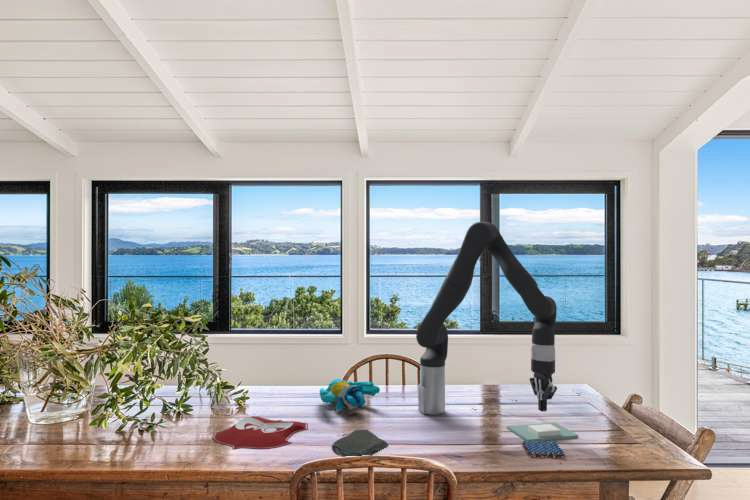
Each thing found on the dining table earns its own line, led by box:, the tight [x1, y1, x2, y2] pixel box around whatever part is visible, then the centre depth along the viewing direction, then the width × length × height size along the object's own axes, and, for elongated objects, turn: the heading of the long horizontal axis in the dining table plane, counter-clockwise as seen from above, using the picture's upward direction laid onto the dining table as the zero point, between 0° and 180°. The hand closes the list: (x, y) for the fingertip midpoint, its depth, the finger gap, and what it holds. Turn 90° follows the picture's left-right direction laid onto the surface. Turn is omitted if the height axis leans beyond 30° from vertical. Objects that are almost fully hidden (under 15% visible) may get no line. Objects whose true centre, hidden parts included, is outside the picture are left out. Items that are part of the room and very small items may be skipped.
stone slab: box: [331, 428, 389, 457], centre depth 155 cm, size 24×17×2 cm
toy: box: [319, 378, 381, 413], centre depth 193 cm, size 22×12×25 cm
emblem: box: [212, 415, 309, 450], centre depth 165 cm, size 29×3×30 cm
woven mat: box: [521, 440, 566, 460], centre depth 151 cm, size 10×11×2 cm
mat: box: [506, 421, 579, 442], centre depth 167 cm, size 18×13×1 cm
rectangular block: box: [528, 424, 561, 437], centre depth 164 cm, size 6×2×8 cm
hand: (542, 410), depth 166 cm, fingers closed
